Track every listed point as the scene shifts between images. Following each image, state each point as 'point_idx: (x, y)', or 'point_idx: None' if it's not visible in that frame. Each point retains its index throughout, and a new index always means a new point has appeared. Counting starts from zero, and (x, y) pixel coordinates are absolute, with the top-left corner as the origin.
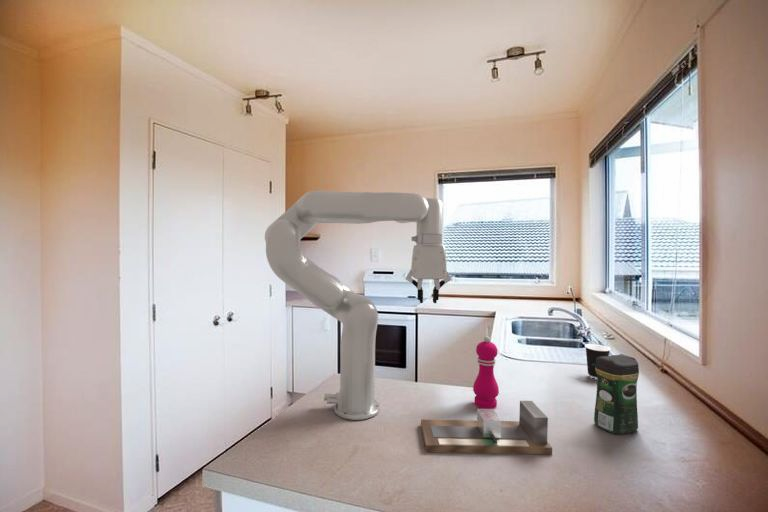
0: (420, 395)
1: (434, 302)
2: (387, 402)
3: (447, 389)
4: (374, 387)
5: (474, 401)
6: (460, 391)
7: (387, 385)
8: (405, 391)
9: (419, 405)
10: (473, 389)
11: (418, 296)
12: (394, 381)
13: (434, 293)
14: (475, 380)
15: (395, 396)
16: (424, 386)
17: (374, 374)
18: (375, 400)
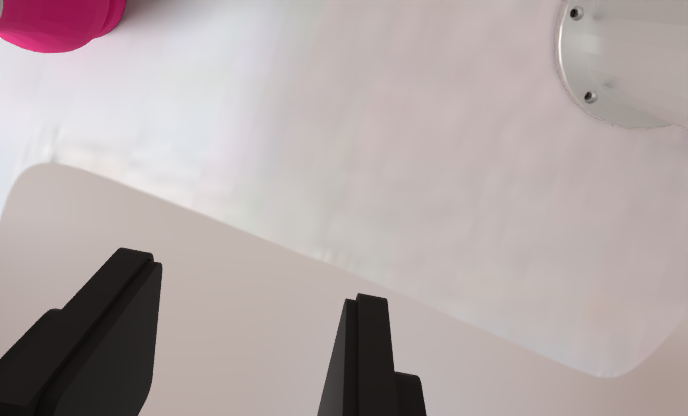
0: (338, 130)
1: (152, 260)
2: (500, 84)
3: (202, 172)
4: (627, 19)
5: (121, 13)
6: (151, 142)
7: (448, 251)
8: (390, 180)
9: (373, 31)
10: (105, 1)
11: (414, 405)
12: (406, 286)
13: (82, 355)
14: (72, 12)
15: (448, 137)
16: (293, 217)
17: (668, 14)
18: (564, 72)
